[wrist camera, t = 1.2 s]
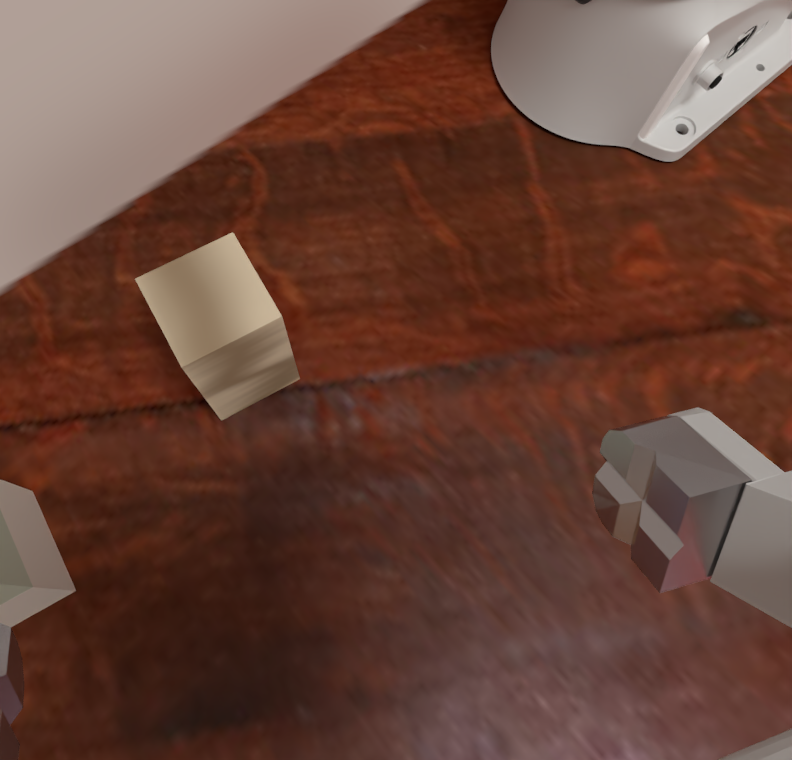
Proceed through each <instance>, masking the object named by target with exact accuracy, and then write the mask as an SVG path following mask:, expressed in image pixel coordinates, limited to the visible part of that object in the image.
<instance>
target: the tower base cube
mask: <svg viewBox="0 0 792 760" xmlns="http://www.w3.org/2000/svg"><path fill="white" fill-rule="evenodd" d="M0 510H1V512H2V515H3V517H4V519H5V522H6V524H7V526H8V529H9V531H10V534H11V536H12V538H13V541H14V543H15V545H16V548H17V550H18V553H19V555H20V557H21V560H22V562H23V564H24V567H25V569H26V572H27V574H28V576H29V579H30V581H31V583H32V586H33V587H32V588H30V589H28V590H27V591H25V592H23V593H21V594H19V595H18V596H16V597H14V598H12V599H10V600H9V601H7V602H5V603H3V604H1V605H0V623H2V624H4V625H6V626H9V627H13V626H14V625H16V624H18V623H20V622H21V621H23V620H25V619H27V618H29V617H30V616H32V615H34V614H36V613H38V612H39V611H41V610H43V609H45V608H46V607H48V606H50V605H52V604H54V603H55V602H57V601H59V600H61V599H63V598H64V597H66V596H68V595H70V594H72V593H73V592H75V591H76V589H75V587H74V584H73V582H72V580H71V578H70V575H69V573H68V571H67V568H66V566H65V564H64V562H63V559H62V557H61V555H60V552H59V550H58V548H57V546H56V543H55V541H54V539H53V536H52V534H51V532H50V530H49V527H48V525H47V523H46V520H45V518H44V516H43V514H42V511H41V509H40V507H39V504H38V502H37V500H36V498H35V495H34V493H33V491H31V490H28V489H25V488H23V487H20V486H17V485H15V484H12V483H9V482H6V481H4V480H1V479H0Z"/></svg>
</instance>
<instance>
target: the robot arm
mask: <svg viewBox="0 0 792 760" xmlns="http://www.w3.org/2000/svg"><path fill="white" fill-rule="evenodd" d="M491 57H492V63H493V68H494V71H495V74H496V77H497V79H498V81H499V83H500V85H501V87H502V89H503V90H504V92H505V93H506V95H507V96H508V98H509V99H510V100H511V101H512V102H513V104H514V105H515V106H516V107H517V108H518V109H519V110H520V111H521V112H522V113H524V114H525V115H526V116H527V117H528V118H530V119H531V120H533V121H534V122H535V123H537V124H538V125H540V126H542V127H543V128H545V129H547V130H549V131H551V132H553V133H555V134H558V135H560V136H563V137H566V138H569V139H572V140H575V141H579V142H584V143H590V144H598V145H611V146H621V147H626V148H630V149H632V150H635V151H637V152H639V153H641V154H644V155H646V156H649V157H651V158H654V159H657V160H660V161H665V162H672V161H676V160H678V159H680V158H681V157H682V156H684V155H685V154H686V153H687V152H688V151H689V150H691V149H692V148H693V147H694V146H695V145H697V144H698V143H699V142H700V141H701V140H703V139H704V138H705V137H706V136H707V135H709V134H710V133H711V132H712V131H713V130H715V129H716V128H717V127H718V126H719V125H720V124H722V123H723V122H724V121H725V120H726V119H728V118H729V117H730V116H731V115H732V114H734V113H735V112H736V111H737V110H738V109H740V108H741V107H742V106H743V105H744V104H745V103H747V102H748V101H749V100H750V99H751V98H753V97H754V96H755V95H756V94H757V93H759V92H760V91H761V90H762V89H763V88H765V87H766V86H767V85H768V84H769V83H770V82H772V81H773V80H774V79H775V78H776V77H778V76H779V75H780V74H781V73H782V72H784V71H785V70H786V69H787V68H788V67H790V66H791V65H792V0H508V1H507V3H506V5H505V7H504V9H503V11H502V13H501V15H500V17H499V19H498V21H497V24H496V26H495V29H494V32H493V36H492V42H491ZM677 131H680V132H681V133H682V134H683V135H682V134H679V133H678V132H677ZM600 453H601V454H602V456H603V457H604V459H605V460H606V463H605V464H604V465H603V466H602V468H601V469H600V470H599V471H598V473H597V474H596V475H595V479H594V485H593V491H592V494H593V499H594V504H595V509H596V512H597V514H598V516H599V518H600V520H601V522H602V524H603V525H604V526H605V528H606V529H607V530H608V531H609V533H610V534H611V535H612V536H613V537H615V538H617V539H619V540H621V541H624V542H626V543H628V544H630V545H631V559H632V561H633V562H634V563H635V564H636V565H637V567H638V568H639V569H640V570H641V571H642V573H643V574H644V575H645V576H646V577H647V578H648V580H649V581H650V582H651V583H652V584H653V586H654V587H655V588H656V589H657V590H658V592H659V593H661V592H665V591H668V590H672V589H675V588H679V587H682V586H685V585H689V584H692V583H696V582H699V581H703V580H706V579H710V578H711V580H710V582H712V583H714V584H716V585H717V586H719V587H721V588H723V589H724V590H726V591H728V592H730V593H731V594H733V595H735V596H737V597H738V598H740V599H742V600H744V601H746V602H747V603H749V604H751V605H753V606H754V607H756V608H758V609H760V610H761V611H763V612H765V613H767V614H768V615H770V616H772V617H774V618H775V619H777V620H779V621H781V622H782V623H784V624H786V625H788V626H789V627H791V628H792V471H789V472H783V471H782V470H781V469H780V468H779V467H777V466H776V465H775V464H774V463H772V462H771V461H770V460H769V459H767V458H766V457H765V456H764V455H762V454H761V453H760V452H759V451H757V450H756V449H755V448H754V447H753V446H751V445H750V444H749V443H748V442H746V441H745V440H744V439H743V438H741V437H740V436H739V435H738V434H736V433H735V432H734V431H733V430H732V429H730V428H729V427H728V426H727V425H725V424H724V423H723V422H722V421H720V420H719V419H718V418H717V417H715V416H714V415H713V414H712V413H711V412H709V411H707V410H704V409H701V408H694V409H690V410H686V411H682V412H678V413H674V414H670V415H668V416H664V417H659V418H655V419H651V420H647V421H643V422H639V423H635V424H631V425H627V426H623V427H619V428H615V429H611V430H609V431H608V433H607V434H606V435H605V437H604V438H603V441H602V445H601V450H600ZM23 699H24V674H23V662H22V657H21V653H20V649H19V646H18V642H17V639H16V637H15V635H14V633H13V631H12V628H11V627H9V626H6V625H4V624H2V623H0V760H18V757H19V747H20V744H19V742H18V740H17V738H16V736H15V734H14V732H13V730H12V728H11V726H10V724H11V723H12V722H13V720H14V719H15V718H16V716H17V715H18V714H19V712H20V711H21V710H22V708H23ZM718 760H792V729H790V730H788V731H785V732H783V733H780V734H778V735H776V736H773V737H771V738H768V739H766V740H763V741H761V742H759V743H756V744H754V745H751V746H749V747H747V748H744V749H742V750H739V751H737V752H734V753H732V754H730V755H727V756H725V757H722V758H720V759H718Z"/></svg>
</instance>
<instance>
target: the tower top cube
mask: <svg viewBox="0 0 792 760" xmlns="http://www.w3.org/2000/svg"><path fill="white" fill-rule="evenodd" d="M32 587H33V586H32V583H31V581H30V579H29V576H28V574H27V572H26V569H25V567H24V564H23V562H22V560H21V557H20V555H19V553H18V550H17V548H16V545H15V543H14V541H13V538H12V536H11V534H10V531H9V529H8V526H7V524H6V522H5V519H4V517H3V515H2V512H1V510H0V605H1V604H3V603H5V602H7V601H9V600H10V599H12V598H14V597H16V596H18V595H19V594H21V593H23V592H25V591H27V590H28V589H30V588H32Z"/></svg>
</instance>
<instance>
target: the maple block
mask: <svg viewBox="0 0 792 760" xmlns="http://www.w3.org/2000/svg"><path fill="white" fill-rule="evenodd" d="M135 280H136V282H137V284H138V286H139V288H140V290H141V292H142V293H143V295H144V297H145V299H146V301H147V303H148V305H149V307H150V309H151V311H152V312H153V314H154V316H155V318H156V320H157V322H158V324H159V326H160V328H161V330H162V332H163V333H164V335H165V337H166V339H167V341H168V343H169V345H170V347H171V349H172V351H173V352H174V354H175V356H176V358H177V360H178V362H179V364H180V366H181V368H182V369H183V370H184V372H185V373H186V374H187V376H188V377H189V378H190V380H191V381H192V382H193V384H194V385H195V386H196V388H197V389H198V390H199V392H200V393H201V394H202V396H203V397H204V398H205V400H206V401H207V402H208V404H209V405H210V406H211V407H212V409H213V410H214V411H215V413H216V414H217V415H218V417H219V418H220V419H221V421H222V420H224V419H226V418H228V417H229V416H231V415H233V414H235V413H237V412H239V411H241V410H243V409H244V408H246V407H248V406H250V405H252V404H254V403H256V402H258V401H260V400H261V399H263V398H265V397H267V396H269V395H271V394H273V393H275V392H276V391H278V390H280V389H282V388H284V387H286V386H288V385H290V384H292V383H293V382H295V381H297V380H299V379H300V377H299V374H298V370H297V367H296V363H295V360H294V356H293V353H292V349H291V346H290V342H289V339H288V335H287V332H286V328H285V325H284V321H283V318H282V315H281V314H280V312H279V310H278V309H277V307H276V305H275V303H274V302H273V300H272V298H271V297H270V295H269V293H268V291H267V290H266V288H265V286H264V285H263V283H262V281H261V279H260V278H259V276H258V274H257V273H256V271H255V269H254V267H253V266H252V264H251V262H250V261H249V259H248V257H247V255H246V254H245V252H244V250H243V249H242V247H241V245H240V243H239V242H238V240H237V238H236V237H235V235H234V233H233V232H232V233H230V234H228V235H226V236H224V237H222V238H220V239H218V240H215V241H213V242H211V243H209V244H207V245H205V246H203V247H201V248H199V249H197V250H194V251H192V252H190V253H188V254H186V255H184V256H182V257H180V258H178V259H176V260H173V261H171V262H169V263H167V264H165V265H163V266H161V267H159V268H157V269H155V270H153V271H150V272H148V273H146V274H144V275H142V276H140V277H138V278H136V279H135Z"/></svg>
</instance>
